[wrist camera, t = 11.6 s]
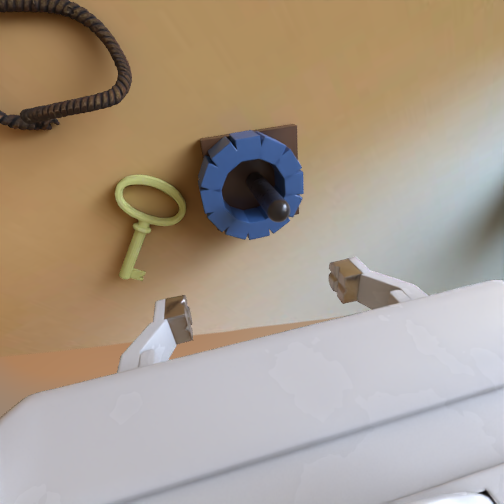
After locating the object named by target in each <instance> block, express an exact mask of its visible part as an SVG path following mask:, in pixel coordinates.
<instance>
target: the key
mask: <svg viewBox="0 0 504 504" xmlns="http://www.w3.org/2000/svg"><path fill="white" fill-rule="evenodd" d="M129 185H146V186H151V187H154V188H157V189H159V190H161V191H163V192H165V193H167V194H168V195H170V196H171V197H172V198H173V199H174V200H175V201H176V202H177V203H178V205H179V212H178V213H177V215H175V216H173V217H170V218H159V217H154V216H151V215H147V214H145V213H142V212H140V211H138V210H136V209H134V208H133V207H132V206H130V205H129V204H128V203H127V202H126V201H125V200H124V198H123V189H124V188H125V187H126V186H129ZM115 198H116V201H117V203H118V205H119V207H120V208H121V209H122V210H123V211H124V212H126V213H127V214H128V215H130V216H132V217H134V218H136V219H138V220H139V221H138V223H134V224H133V228H134V229H135V232H134V235H133V238H132V240H131V243H130V246H129V249H128V251H127V254H126V257H125V259H124V262H123V265H122V268H121V270H120V273H119V277H121V278H123V279H129V278H133V279H136V280H140V281H143V276H144V275H145V271H142V270H138V269H134V268H133V267H134V265H135V262H136V259H137V257H138V254H139V252H140V249H141V246H142V244H143V241H144V238H145V236H146V234H148V233H150V232H151V228H150V227H149V225H150V224H153V225H158V226H169V225H174V224H176V223H178V222H180V221H181V220H182V218H183V217H184V215H185V212H186V203H185V200H184V198H183V196H182V195H181V194H180V193H179V191H178V190H177V189H176V188H174V187H173V186H172V185H170V184H168V183H167V182H165V181H162V180H160V179H158V178H155V177H151V176H147V175H132V176H128V177H125V178H123V179H122V180H120V181H119V182H118V184H117V186H116V189H115Z"/></svg>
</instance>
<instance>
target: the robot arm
mask: <svg viewBox="0 0 504 504" xmlns="http://www.w3.org/2000/svg"><path fill="white" fill-rule="evenodd" d="M329 269H330V271H331V273H330V274H329V283H330V286H331V288H332V290H333V291H335V292H337V296H338V298H339V299H340V300H341V302H342V303H343V304H344V303H349V302H353V301H358V302H359V303H361V304H363V305H365V306H367V307H369V308H370V309H372V310H368V311H364V312H360V313H356V314H352V315H348V316H344V317H340V318H336V319H332V320H329V321H325V322H320V323H316V324H312V325H308V326H304V327H300V328H296V329H292V330H288V331H284V332H280V333H277V334H272V335H268V336H264V337H260V338H256V339H252V340H248V341H244V342H240V343H236V344H232V345H228V346H224V347H220V348H216V349H212V350H208V351H204V352H200V353H196V354H192V355H188V356H184V357H180V358H176V359H172V360H168V359H169V358H170V356H171V354H172V352H173V351H174V349H175V347H176V345H177V344H180V343H184V342H187V341H191V340H193V332H192V327H191V325H192V317H191V312H190V308H189V307H188V306H187V299H186V296H185V295H182V296H177V297H172V298H167V299H162V300H157V301H156V302H155V309H154V318H153V322H152V323H150V324H149V325H148V326H147V327H146V328H145V329H144V330H143V332H142V333H141V334H140V335H139V336H138V337H137V338H136V339H135V341H134V342H133V343H132V344H131V345H130V346H129V347H128V348H127V350H126V351H125V352H124V353H123V354H122V355H121V357H120V362H119V366H118V370H117V373H115V374H111V375H107V376H104V377H99V378H96V379H91V380H87V381H83V382H79V383H75V384H71V385H67V386H63V387H59V388H55V389H51V390H46V391H42V392H38V393H35V394H32V395H29V396H27V397H25V398H24V399H22V400H21V401H20V402H19V403H17V404H16V405H15V406H14V407H12V408H11V409H10V410H9V411H8V412H6V413H5V414H4V415H3V416H2V417H1V418H0V504H504V281H503V280H489V281H485V282H481V283H477V284H473V285H469V286H465V287H461V288H457V289H453V290H449V291H445V292H441V293H437V294H433V295H429V296H428V295H427V294H425V293H424V292H423V291H422V290H421V289H420V288H419V287H417V286H416V285H414V284H411V283H408V282H405V281H402V280H399V279H396V278H393V277H390V276H387V275H384V274H381V273H378V272H375V271H373V272H372V271H371V270H370V269H369V268H367V267H366V266H365V265H364V264H363V263H362V262H361V261H360V260H359V259H358V258H357V257H351V258H347V259H344V260H340V261H336V262H331V263H330V265H329Z"/></svg>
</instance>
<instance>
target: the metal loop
mask: <svg viewBox="0 0 504 504" xmlns="http://www.w3.org/2000/svg"><path fill="white" fill-rule="evenodd" d="M6 11H7V12H14V11H15V12H21V11H24V12H29V11H31V12H47V13H54V14H61V15H63V16H66V17H67V16H68V17H70V18H71V19H75V20H76V21H78V22H80V23H82V24H83V25H84V26H86V27H88V28H89V29H90V30H91V31H92V32H94V33H95V34H96V36H97V37H98V38H99V39H100V40H101V41H102V42H103V43H104V45H105V46H106V48H107V49H108V51H109V52H110V54H111V56H112V59H113V60H114V62H115V66H116V67H117V70H118V78H117V81H116V84H115V85H114V86H112V89H109V90H108V91H104V92H102V93H97V94H95V95H91V96H85V97H82V98H77V99H71V100H67V101H64V102H59V103H53V104H50V105H47V106H39V107H35V108H30V109H25V110H22V111H21V113H20V116H19V115H8V116H7V115H6V114H5V113H3V112H2V111H0V123H1V124H2V125H8V126H9V127H10V128H14V129H17V128H19V129H21V130H25V129H28V130H33V129H34V130H39V129H42V130H47V129H48V130H51V129H52V127H51V124H50V123H55V124H57V125H59V124H60V123H59V122H58V120H57V119H56V118H61V117H66V116H68V115H74V114H79V113H86V112H91V111H94V110H99V109H104V108H107V107H111V106H113V105H117V104H118V103H120V102H121V100H122V99H123V98H124V97H125V96H126V94H127V93H128V92H129V89H130V86H131V82H132V74H131V70H130V66H129V63H128V61H127V59H126V57H125V55H124V53H123V51H122V50H121V48H120V46H119V44H118V43H117V41H116V40H115V38H114V37H113V36H112V34H111V33H110V32H109V30H108V29H107V28H106V27H105V26H104V25H103V23H102V22H101V21H100V20H98V19H97V18H96V17H95V16H94V15H93V14H91V13H89V12H88V11H87V9H85V8H83V7H80V6H79V5H78V4H76V3H74V2H70V1H69V0H0V12H6Z"/></svg>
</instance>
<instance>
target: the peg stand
mask: <svg viewBox="0 0 504 504" xmlns="http://www.w3.org/2000/svg"><path fill="white" fill-rule="evenodd" d="M252 131H253V132H256V131H258V132H260V133H262V134H265V135H267V136H269V137H271V138H274V139H276V140H277V141H279V142H281V143H283V144H285V145H286V147H288V148H289V149H291V151H292V152H293V154H294V156H295V157H296V159H297V160H298V153H297V125H294V124H290V125H284V126H277V127H271V128H265V129H258V130H252ZM224 136H225V137H226V138H227V139H228V140H229V141H230V137H229V134H226V135H220V136H214V137H207V138H201V139H200V143H201V148H202V153H203V158H204V156H205V155H206V156H209V157H210V155H209V153H208V150H209V149H210V148H212V147H213V146H214V145H215V144H216V143H217V142H218V141H220V140H221V139H222V138H223V137H224ZM274 186H275V176H274V169H273V167H272V166H271V165H270V163H269V162H266V161H264V160H261V159H255V160H249V161H243V162H241V163H239V164H238V165H237V166H236V167H235V168H234V169H232V170H231V171H230V172H229V173H228V174H227V176H226V179H225V182H224V184H223V187H222V190H221V191H222V197H223V199H224V200H225V201H226V203H227V204H228V205H229V206H231V207H234V208H237V209H241V210H247V209H252V208H257V207H258V206H260V205H261V207H262V208H263V210H264V211H265V213H266V214H267V216H268V217H269V218H270V219H271V220H272V221H274V222H283V221H285V220H286V219H287V218H288V217H289V215H290V206H289V204H288V203H287V202H286V200H285V199H284V198H283V197H282V196H281V195H280V194H279V193H278V192H277V191H276V190H275V189H274ZM296 214H299V206H298V208H297V210H296V212H295V214H294V215H296ZM218 230H219V229H218Z"/></svg>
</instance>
